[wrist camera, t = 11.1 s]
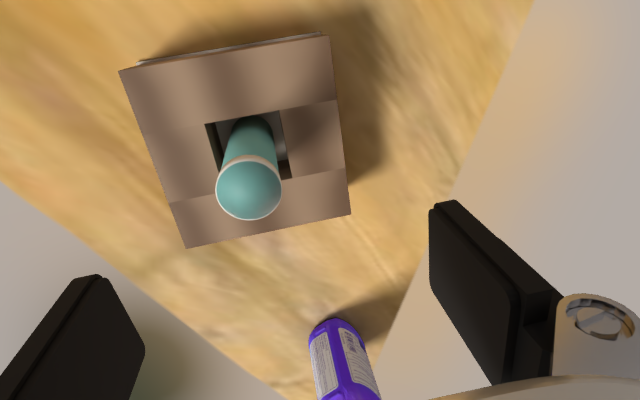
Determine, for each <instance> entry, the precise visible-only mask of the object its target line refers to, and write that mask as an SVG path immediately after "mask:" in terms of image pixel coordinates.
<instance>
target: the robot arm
mask: <svg viewBox="0 0 640 400" xmlns="http://www.w3.org/2000/svg"><path fill="white" fill-rule="evenodd" d="M428 218H429V280H430V286H431V289H432V291H433V293H434V295H435V296H436V297H437V299H438V301H439V302H440V304H441V306H442V307H443V309H444V310H445V312H446V313H447V315H448V317H449V318H450V320H451V321H452V323H453V324H454V326H455V328H456V329H457V331H458V332H459V334H460V336H461V337H462V339H463V340H464V342H465V343H466V345H467V347H468V348H469V350H470V351H471V353H472V355H473V356H474V358H475V359H476V361H477V362H478V364H479V365H480V367H481V369H482V370H483V372H484V373H485V375H486V377H487V378H488V380H489V381H490V383H491V384H492V386H489V387H484V388H480V389H475V390H471V391H466V392H461V393H456V394H452V395H447V396H442V397H438V398H434V399H429V400H640V319H639V318H638V316H637V315H636V314H635V313H634V312H633V311H631V310H630V309H628V308H627V307H625V306H624V305H622V304H620V303H618V302H616V301H614V300H612V299H609V298H606V297H602V296H599V295H593V294H586V293H582V294H572V295H569V296H566V297H564V296H562V295H561V294H560V293H559V292H558V291H557V290H556V289H555V288H554V287H552V286H551V285H550V284H549V283H548V282H547V281H546V280H545V279H544V278H543V277H541V276H540V275H539V274H538V273H537V272H536V271H535V270H534V269H533V268H532V267H531V266H529V265H528V264H527V263H526V262H525V261H524V260H523V259H522V258H521V257H519V256H518V255H517V254H516V253H515V252H514V251H513V250H512V249H511V248H510V247H508V246H507V245H506V244H505V243H504V242H503V241H502V240H500V239H499V238H497V237H496V236H495V235H494V234H493V233H492V232H491V231H489V230H488V229H487V228H486V227H485V226H484V225H483V224H482V223H481V222H480V221H478V220H477V219H476V218H475V217H474V216H473V215H472V214H471V213H470V212H469V211H468V210H466V209H465V208H464V207H463V206H462V205H461V204H460V203H459V202H458V201H456V200H449V201H445V202H440V203H436V204H435V205H434V209H430V210H429V214H428ZM144 356H145V346H144V343H143V341H142V339H141V337H140V336H139V334H138V332H137V330H136V328H135V327H134V325H133V323H132V321H131V319H130V317H129V316H128V314H127V312H126V310H125V308H124V306H123V305H122V303H121V301H120V299H119V297H118V295H117V294H116V292H115V290H114V288H113V286H112V284H111V283H110V281H109V280H108V279H107V278H102V276H100V275H98V274H94V275H89V276H84V277H80V278H75V279H73V280H72V281H71V282H70V284H69V285H68V286H67V288H66V289H65V290H64V292H63V293H62V294H61V296H60V297H59V298H58V300H57V301H56V302H55V304H54V305H53V306H52V308H51V309H50V310H49V312H48V313H47V314H46V316H45V317H44V318H43V320H42V321H41V322H40V324H39V325H38V326H37V328H36V329H35V330H34V332H33V333H32V334H31V336H30V337H29V338H28V340H27V341H26V342H25V344H24V345H23V346H22V348H21V349H20V350H19V352H18V353H17V354H16V356H15V357H14V358H13V360H12V361H11V362H10V364H9V365H8V366H7V368H6V369H5V370H4V372H3V373H2V374H1V376H0V400H129V397H130V395H131V392H132V389H133V387H134V384H135V381H136V378H137V376H138V373H139V370H140V367H141V364H142V362H143V359H144Z"/></svg>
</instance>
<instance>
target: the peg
mask: <svg viewBox="0 0 640 400" xmlns="http://www.w3.org/2000/svg"><path fill="white" fill-rule="evenodd" d="M215 192H216V197H217V200H218V202H219V204H220V206H221V207H222V208H223V209H224V211H225V212H227V213H228V214H229V215H231V216H233V217H235V218H238V219H242V220H257V219H261V218H263V217H265V216H267V215H269V214H270V213H272V212H273V211H274V210H275V209H276V207H277V206H278V204H279V202H280V200H281V197H282V185H281V178H280V175H279V171H278V164H277V157H276V151H275V144H274V137H273V131H272V128H271V126H270V125H269V123H268V122H267V121H266V120H264V119H263V118H261V117H259V116H255V115H250V116H245V117H242V118H240V119H239V120H237V121H236V122H235V124H234V125H233V127H232V130H231V134H230V138H229V141H228V145H227V149H226V152H225V156H224V160H223V164H222V167H221V170H220V172H219V175H218V178H217V182H216V188H215Z"/></svg>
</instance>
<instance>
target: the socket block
mask: <svg viewBox="0 0 640 400" xmlns="http://www.w3.org/2000/svg"><path fill="white" fill-rule="evenodd" d="M136 65H137V66H134V67H130V68H127V69H123V70H120V71H118V73H119V75H120V78H121V81H122V83H123V86H124V88H125V91H126V94H127V96H128V99H129V101H130V104H131V107H132V109H133V112H134V114H135V117H136V120H137V122H138V125H139V127H140V130H141V133H142V135H143V138H144V140H145V143H146V146H147V148H148V151H149V154H150V156H151V159H152V161H153V164H154V167H155V169H156V172H157V174H158V177H159V180H160V182H161V185H162V187H163V190H164V193H165V195H166V198H167V200H168V203H169V206H170V208H171V211H172V213H173V216H174V219H175V221H176V224H177V227H178V229H179V232H180V234H181V237H182V240H183V242H184V245H185V247H186V249H188V248H193V247H198V246H203V245H207V244H212V243H217V242H222V241H226V240H231V239H236V238H241V237H245V236H250V235H255V234H260V233H264V232H269V231H274V230H279V229H284V228H288V227H293V226H298V225H303V224H307V223H312V222H317V221H322V220H326V219H331V218H336V217H341V216H345V215H350V214H351V208H350V200H349V192H348V184H347V176H346V168H345V160H344V152H343V144H342V135H341V127H340V119H339V111H338V103H337V95H336V87H335V79H334V71H333V63H332V55H331V46H330V38H329V35H321V31H319V32H313V33H308V34H302V35H296V36H290V37H284V38H278V39H272V40H266V41H260V42H254V43H248V44H242V45H236V46H230V47H224V48H218V49H212V50H206V51H200V52H194V53H189V54H183V55H177V56H171V57H165V58H159V59H153V60H147V61H141V62H136ZM250 115H255V116H259V117H261V118H263V119H264V120H266V121H267V122H268V123H269V125H270V126H271V128H272V131H273V137H274V144H275V151H276V157H277V164H278V171H279V175H280V178H281V185H282V197H281V200H280V202H279V204H278V206H277V207H276V209H275V210H274V211H273V212H272V213H270V214H269V215H267V216H265V217H263V218H261V219H257V220H242V219H238V218H235V217H233V216H231V215H229V214H228V213H227V212H225V211H224V209H223V208H222V207H221V206H220V204H219V202H218V200H217V197H216V192H215V188H216V182H217V178H218V175H219V172H220V170H221V167H222V164H223V160H224V156H225V152H226V149H227V145H228V141H229V138H230V134H231V130H232V127H233V125H234V124H235V122H236V121H237V120H239V119H240V118H242V117H245V116H250Z"/></svg>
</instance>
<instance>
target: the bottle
mask: <svg viewBox="0 0 640 400" xmlns="http://www.w3.org/2000/svg"><path fill="white" fill-rule="evenodd" d="M309 349H310V355H311V361H312V368H313V374H314V380H315V386H316V392H317V399H318V400H382V399H381V396H380V393H379V390H378V387H377V384H376V381H375V378H374V375H373V372H372V369H371V365H370V362H369V359H368V356H367V353H366V350H365V345H364V343H363V341H362V339H361V337H360V336H359V334H358V333H357V332H356V330H355V329H354V328H353V327H352V326H351V325H350V324H348V323H347V322H345V321H343V320H341V319H338V318H334V319H330V320H327V321H325V322H324V323H322V324H321V325H319V326H317V327H316V328H315V329H314V330H313V331H312V333H311V334H310V337H309Z"/></svg>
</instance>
